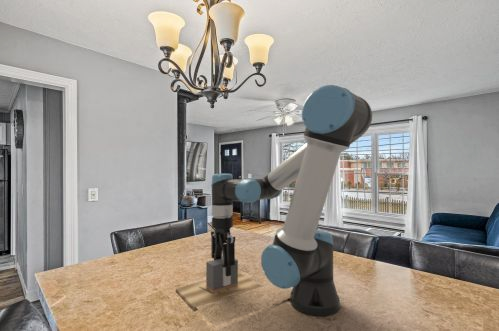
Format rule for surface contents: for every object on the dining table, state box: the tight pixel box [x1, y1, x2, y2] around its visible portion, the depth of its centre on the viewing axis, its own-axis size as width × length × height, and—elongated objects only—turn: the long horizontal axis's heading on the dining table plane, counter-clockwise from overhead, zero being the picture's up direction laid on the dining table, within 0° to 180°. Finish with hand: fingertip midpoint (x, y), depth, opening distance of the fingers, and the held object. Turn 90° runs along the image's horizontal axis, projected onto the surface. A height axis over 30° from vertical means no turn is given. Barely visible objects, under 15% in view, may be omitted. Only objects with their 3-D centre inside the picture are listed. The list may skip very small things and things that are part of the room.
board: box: [175, 271, 263, 311], centre depth 93 cm, size 16×26×1 cm, turn 125°
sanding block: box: [205, 258, 239, 293], centre depth 93 cm, size 10×5×9 cm, turn 127°
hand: (222, 281), depth 93 cm, fingers closed on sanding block, 5 cm apart
